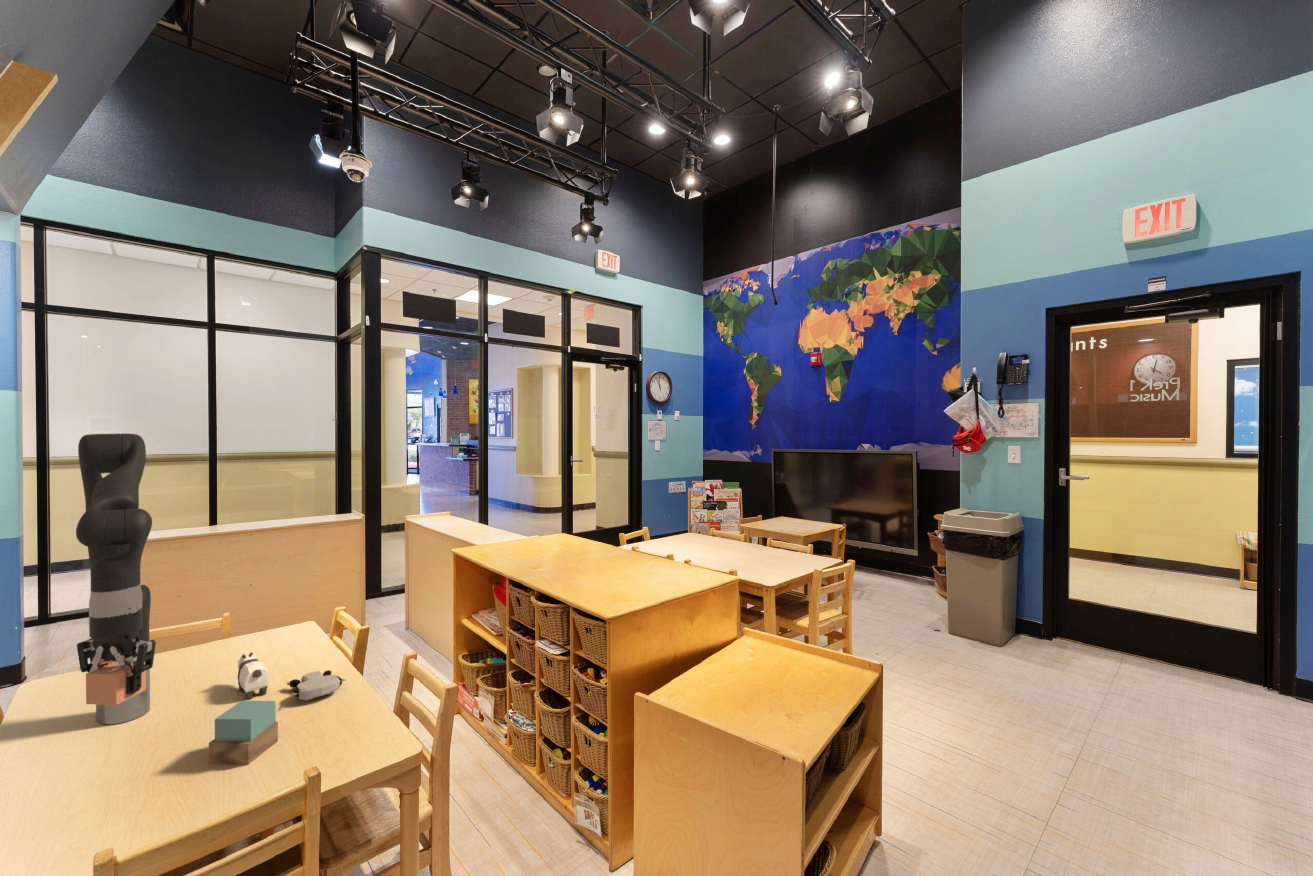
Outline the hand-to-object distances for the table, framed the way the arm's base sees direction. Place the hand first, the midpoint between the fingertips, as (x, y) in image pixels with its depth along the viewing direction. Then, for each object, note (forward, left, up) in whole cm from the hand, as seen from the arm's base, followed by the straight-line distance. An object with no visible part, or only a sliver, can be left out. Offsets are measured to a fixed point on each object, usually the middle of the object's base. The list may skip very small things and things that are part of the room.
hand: (117, 692), depth 108 cm
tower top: (+13, +16, -17) cm, 27 cm away
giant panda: (-7, +44, -22) cm, 50 cm away
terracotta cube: (0, 0, -1) cm, 1 cm away
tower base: (+13, +16, -22) cm, 30 cm away
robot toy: (+11, +44, -22) cm, 51 cm away
